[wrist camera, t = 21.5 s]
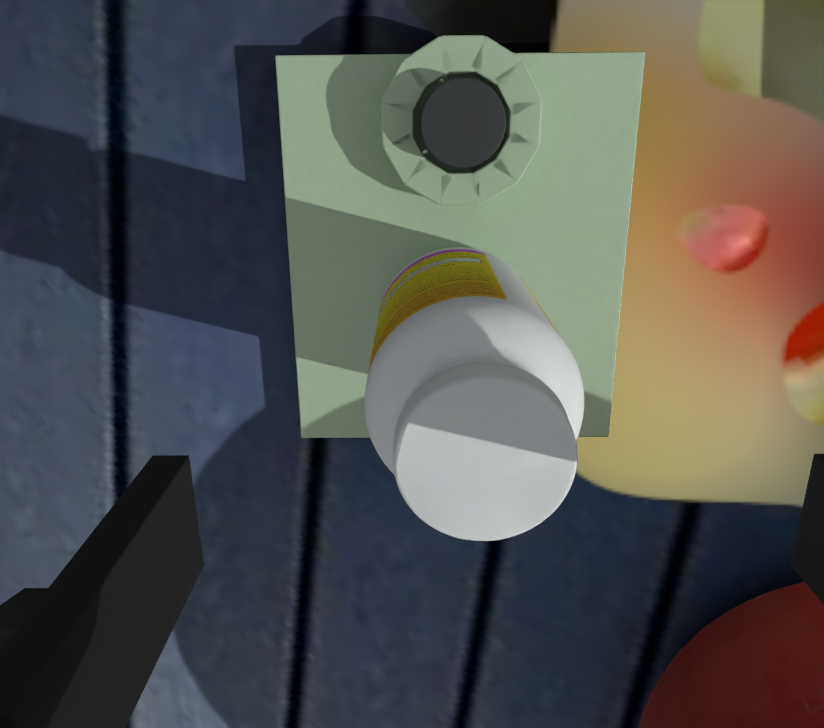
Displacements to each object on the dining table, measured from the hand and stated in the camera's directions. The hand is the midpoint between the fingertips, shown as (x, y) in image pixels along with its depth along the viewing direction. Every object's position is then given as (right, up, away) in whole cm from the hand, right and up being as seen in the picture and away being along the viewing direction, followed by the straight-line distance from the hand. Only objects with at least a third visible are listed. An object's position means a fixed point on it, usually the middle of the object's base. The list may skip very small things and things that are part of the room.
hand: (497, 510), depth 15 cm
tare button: (0, +12, +11) cm, 16 cm away
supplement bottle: (0, +5, +15) cm, 16 cm away
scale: (0, +8, +15) cm, 17 cm away
